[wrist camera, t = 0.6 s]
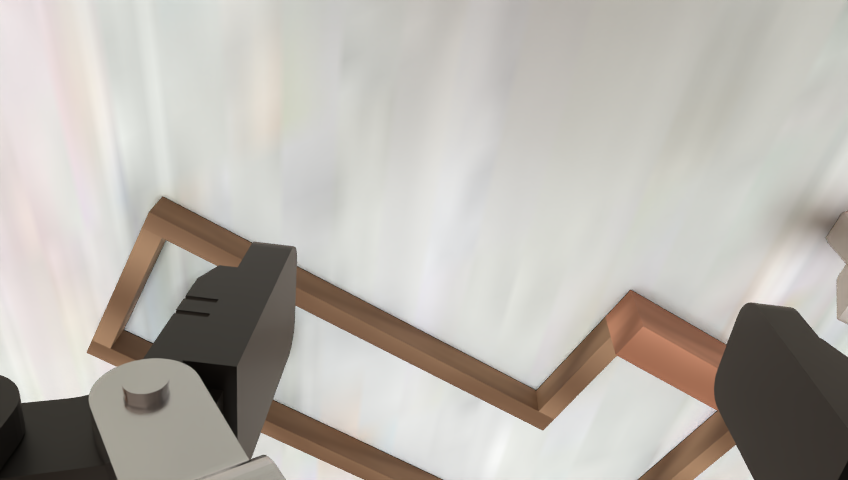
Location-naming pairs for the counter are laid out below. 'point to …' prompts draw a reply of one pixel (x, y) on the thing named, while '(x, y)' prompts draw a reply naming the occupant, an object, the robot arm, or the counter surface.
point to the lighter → (844, 241)
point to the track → (437, 355)
